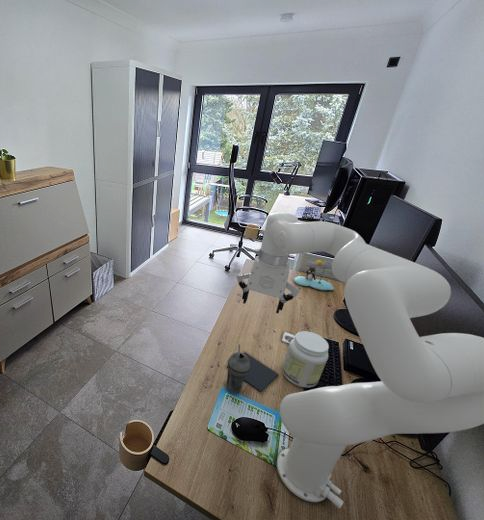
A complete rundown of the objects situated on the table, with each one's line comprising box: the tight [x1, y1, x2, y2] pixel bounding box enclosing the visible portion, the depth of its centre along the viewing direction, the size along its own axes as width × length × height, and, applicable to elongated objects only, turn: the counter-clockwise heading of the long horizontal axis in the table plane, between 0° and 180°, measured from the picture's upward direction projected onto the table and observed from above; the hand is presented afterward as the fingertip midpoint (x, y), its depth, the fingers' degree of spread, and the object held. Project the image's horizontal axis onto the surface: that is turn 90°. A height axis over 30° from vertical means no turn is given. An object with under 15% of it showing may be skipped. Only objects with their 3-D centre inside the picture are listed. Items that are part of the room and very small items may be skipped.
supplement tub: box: [281, 330, 330, 389], centre depth 103 cm, size 12×12×17 cm
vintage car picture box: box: [281, 331, 296, 345], centre depth 121 cm, size 15×7×4 cm, turn 56°
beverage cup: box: [226, 343, 250, 394], centre depth 98 cm, size 7×7×20 cm
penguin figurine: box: [293, 259, 335, 291], centre depth 161 cm, size 20×11×15 cm, turn 62°
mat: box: [226, 352, 279, 393], centre depth 109 cm, size 14×12×1 cm
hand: (261, 306), depth 89 cm, fingers open, 9 cm apart
